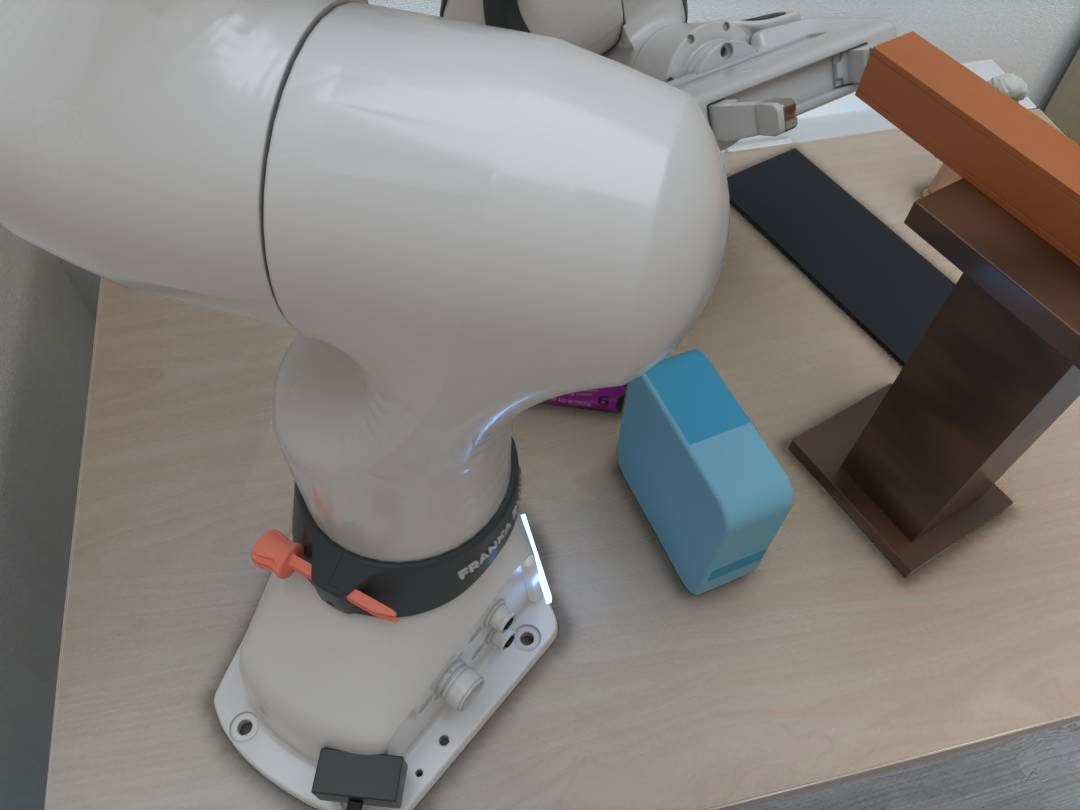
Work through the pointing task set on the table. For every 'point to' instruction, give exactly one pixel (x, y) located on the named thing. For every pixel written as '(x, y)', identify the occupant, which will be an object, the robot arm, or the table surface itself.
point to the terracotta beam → (979, 135)
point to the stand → (958, 387)
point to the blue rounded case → (701, 471)
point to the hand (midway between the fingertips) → (848, 92)
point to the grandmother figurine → (1008, 86)
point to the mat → (843, 249)
